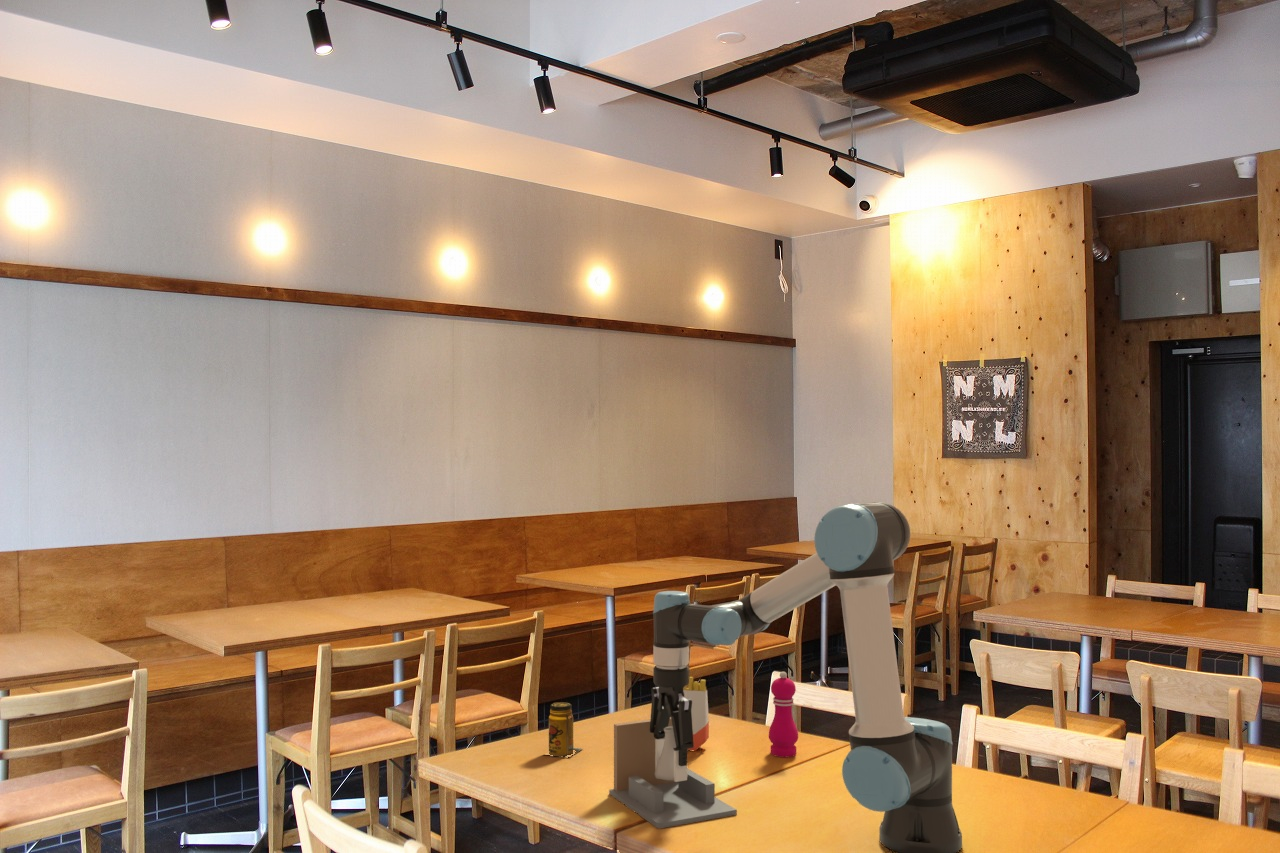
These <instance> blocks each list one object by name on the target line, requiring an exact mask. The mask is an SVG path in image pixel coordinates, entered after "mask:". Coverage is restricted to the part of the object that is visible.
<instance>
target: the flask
mask: <svg viewBox="0 0 1280 853" xmlns="http://www.w3.org/2000/svg"><path fill="white" fill-rule="evenodd" d="M664 732H665V741H664V747H663V750H662V753H661V756H660V759H659V762H658V764H657V767H656V770H655V773H654V775H655V777H656V778H657V779H663V780H674V749H673V748H676V743H675V737H674V731H673V727H665V728H664ZM687 777H688V774H687Z"/></svg>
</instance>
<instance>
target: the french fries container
mask: <svg viewBox="0 0 1280 853" xmlns="http://www.w3.org/2000/svg"><path fill="white" fill-rule="evenodd" d="M706 681H707V680H706V679H700V681H694V676H689V684H688V687H687V685H686V686H684V688H683V691H684V698H686V699H691V700H692V709H691V714H692V729H693V743H694V747H693V748H690V749H688V750H694V751H693V752H695V751H697V750H698V749H699V748H700V747H701V746H703V745H704V744H705V743H707V740H708V739H709V737H710V736H709V734H710V733H709V732H710V729H709V728H710V723H709V722H710V721H709V720H710V719H709V717H710V716H709V703H708V701H709V700H708V699H709V698H708V689H707V686H706ZM675 712H678V711H675Z"/></svg>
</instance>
